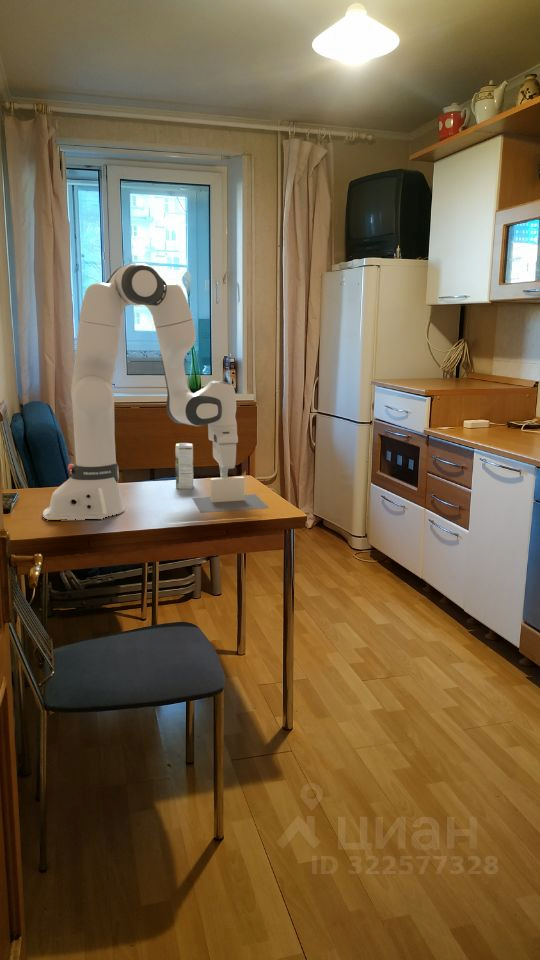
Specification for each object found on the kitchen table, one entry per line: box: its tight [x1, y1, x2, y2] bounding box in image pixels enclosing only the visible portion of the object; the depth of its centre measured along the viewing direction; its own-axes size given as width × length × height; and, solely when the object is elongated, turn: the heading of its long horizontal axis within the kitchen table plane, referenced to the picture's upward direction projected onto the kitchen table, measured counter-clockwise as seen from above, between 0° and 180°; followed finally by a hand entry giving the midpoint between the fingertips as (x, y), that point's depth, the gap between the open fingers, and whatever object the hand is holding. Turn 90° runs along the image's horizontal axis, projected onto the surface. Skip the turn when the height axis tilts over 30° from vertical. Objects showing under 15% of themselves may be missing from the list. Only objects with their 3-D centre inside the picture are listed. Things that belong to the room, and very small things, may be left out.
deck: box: [209, 476, 245, 502], centre depth 207 cm, size 10×2×7 cm, turn 104°
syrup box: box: [174, 442, 194, 490], centre depth 227 cm, size 6×6×14 cm
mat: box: [192, 493, 270, 514], centre depth 205 cm, size 20×18×1 cm
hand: (224, 477), depth 213 cm, fingers closed
